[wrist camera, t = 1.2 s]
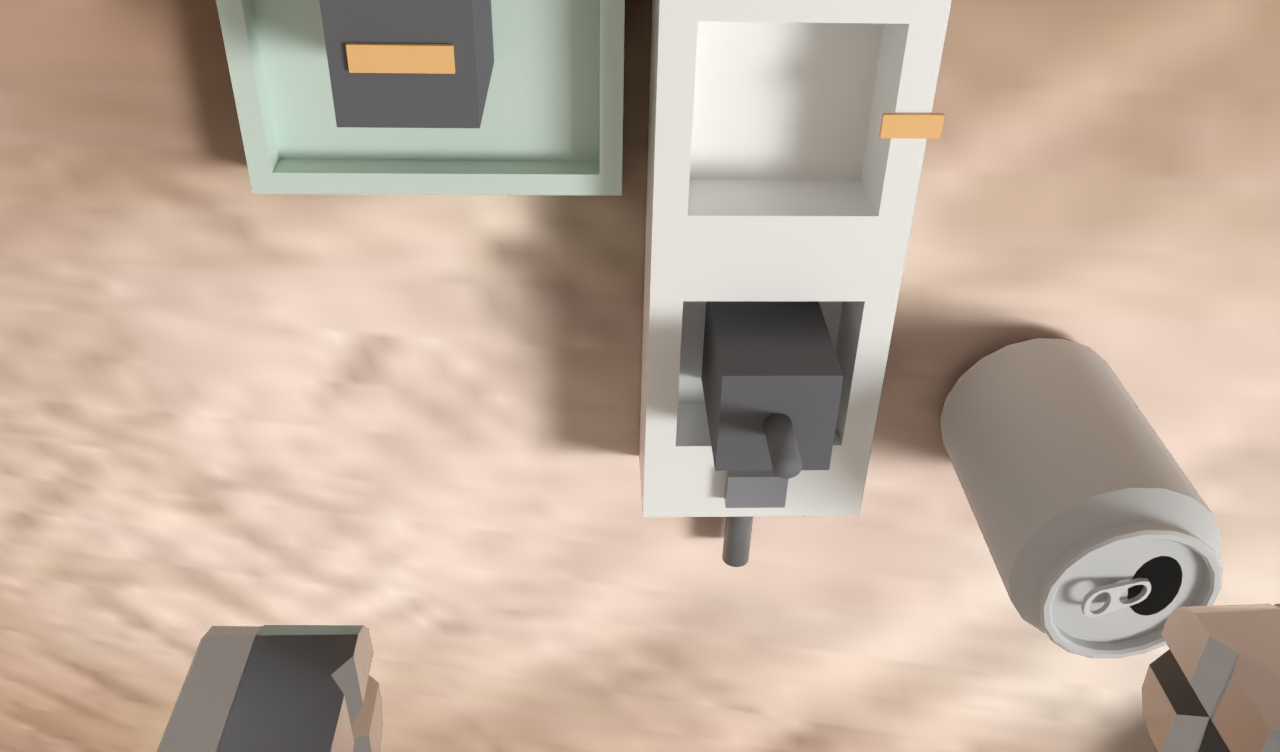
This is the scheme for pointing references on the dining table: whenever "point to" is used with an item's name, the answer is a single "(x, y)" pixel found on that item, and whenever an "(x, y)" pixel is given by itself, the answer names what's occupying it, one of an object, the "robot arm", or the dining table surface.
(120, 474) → the dining table surface
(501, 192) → the tray
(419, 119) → the dark grey block
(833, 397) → the twin plug
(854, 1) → the white power strip
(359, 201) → the dining table surface
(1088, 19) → the dining table surface
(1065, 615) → the can
